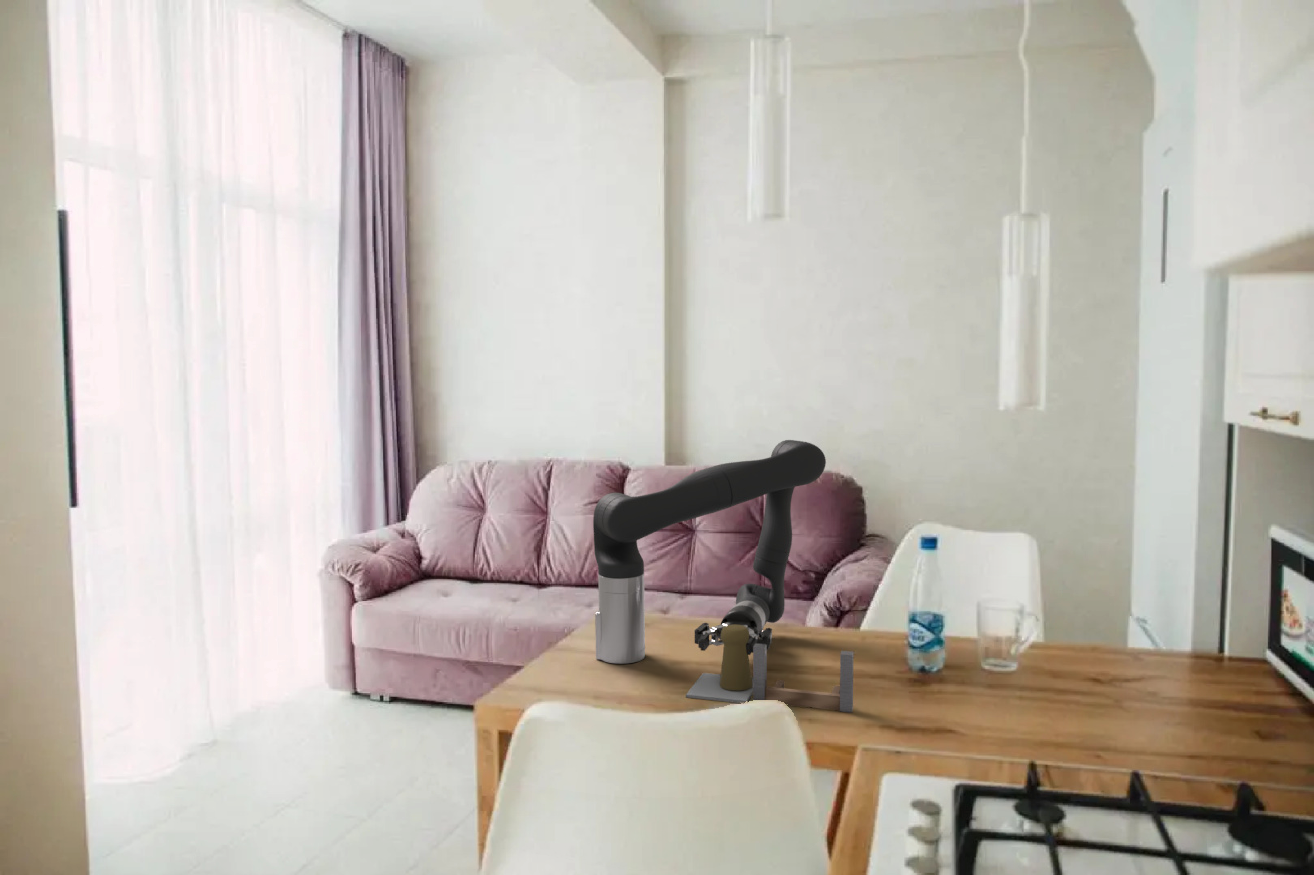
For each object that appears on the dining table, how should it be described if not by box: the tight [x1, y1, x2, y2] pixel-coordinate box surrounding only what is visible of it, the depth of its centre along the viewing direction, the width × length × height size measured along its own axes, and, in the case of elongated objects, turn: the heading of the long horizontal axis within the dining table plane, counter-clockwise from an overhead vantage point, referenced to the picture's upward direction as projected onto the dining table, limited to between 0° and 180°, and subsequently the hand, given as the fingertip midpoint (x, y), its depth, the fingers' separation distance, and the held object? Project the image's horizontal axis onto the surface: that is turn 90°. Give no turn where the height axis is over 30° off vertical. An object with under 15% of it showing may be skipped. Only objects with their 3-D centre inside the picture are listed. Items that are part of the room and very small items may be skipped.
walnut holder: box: [752, 643, 854, 714], centre depth 164 cm, size 17×9×10 cm, turn 72°
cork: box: [720, 625, 753, 691], centre depth 170 cm, size 6×6×11 cm
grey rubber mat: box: [685, 672, 753, 704], centre depth 170 cm, size 11×12×1 cm
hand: (724, 647), depth 170 cm, fingers open, 8 cm apart
